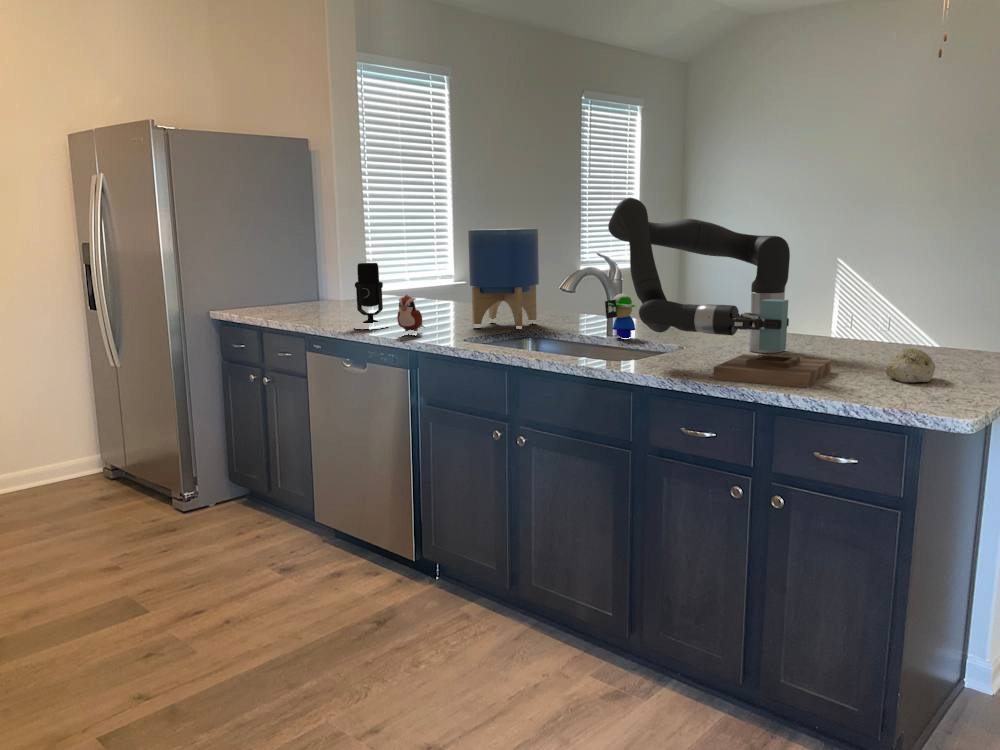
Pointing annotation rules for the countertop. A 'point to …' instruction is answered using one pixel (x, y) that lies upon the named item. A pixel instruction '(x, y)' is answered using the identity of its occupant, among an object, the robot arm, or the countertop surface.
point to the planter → (503, 271)
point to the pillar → (774, 337)
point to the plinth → (773, 370)
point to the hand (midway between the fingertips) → (784, 323)
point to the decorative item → (911, 366)
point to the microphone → (369, 289)
